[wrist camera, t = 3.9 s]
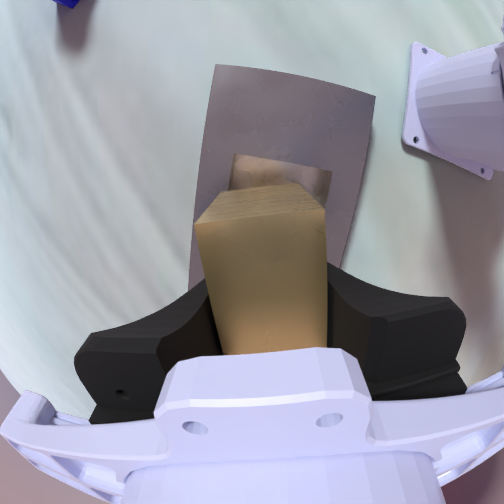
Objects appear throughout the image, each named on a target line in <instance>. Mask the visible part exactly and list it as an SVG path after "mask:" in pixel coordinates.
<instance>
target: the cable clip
mask: <svg viewBox="0 0 504 504" xmlns="http://www.w3.org/2000/svg"><path fill="white" fill-rule="evenodd" d="M52 1H54V2H56V3H59V4H62V5H64V6H67V7H69V8H72V9H73V8H74V7H75V5H76V4H77V3H78V2H79V1H80V0H52Z"/></svg>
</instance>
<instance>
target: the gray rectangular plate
mask: <svg viewBox="0 0 504 504" xmlns="http://www.w3.org/2000/svg"><path fill="white" fill-rule="evenodd" d="M375 98H376V96H373V95H370V94H367V93H364V92H361V91H358V90H355V89H351V88H348V87H344V86H341V85H337V84H333V83H329V82H325V81H321V80H317V79H313V78H308V77H304V76H299V75H294V74H289V73H283V72H277V71H271V70H265V69H257V68H250V67H241V66H231V65H219V64H216V65H215V70H214V75H213V81H212V86H211V92H210V97H209V103H208V109H207V116H206V122H205V129H204V135H203V142H202V149H201V157H200V165H199V173H198V181H197V190H196V199H195V208H194V219H193V229H192V241H191V254H190V268H189V284H188V291H189V290H191V289H192V288H193V287H194V286H196V285H197V284H198V283H199V282H200V281H202V280H203V279H204V278H205V275H204V271H203V266H202V261H201V257H200V252H199V247H198V242H197V237H196V232H195V227H194V224H195V223H196V221H197V220H198V219H199V218H200V217H201V215H202V214H203V213H204V212H205V210H206V209H207V208H208V207H209V206H210V204H211V203H212V202H213V201H214V200H215V198H216V197H217V196H218V195H219V194H220V193H221V192H224V191H231V190H239V189H246V188H254V187H263V186H272V185H281V184H290V183H299V184H300V185H301V186H302V187H303V188H304V189H305V190H306V191H307V192H308V193H309V194H310V195H311V196H312V197H313V198H314V199H315V200H316V201H317V202H318V203H319V204H320V205H321V206H322V207H323V208H324V209H325V225H326V248H327V262H329V263H331V264H332V265H334V266H336V267H337V268H339V266H340V263H341V259H342V256H343V252H344V249H345V245H346V241H347V238H348V234H349V230H350V226H351V222H352V218H353V214H354V210H355V206H356V201H357V197H358V193H359V188H360V184H361V179H362V174H363V169H364V164H365V159H366V154H367V149H368V143H369V137H370V131H371V125H372V119H373V112H374V105H375Z"/></svg>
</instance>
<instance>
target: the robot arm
mask: <svg viewBox="0 0 504 504" xmlns="http://www.w3.org/2000/svg"><path fill="white" fill-rule="evenodd" d="M501 30H502V32H503V33H504V16H503V25H502V26H501ZM422 49H423V50H424V52H425V54H424V53H423V52H422ZM414 137H416V140H417V141H416V143H414V141H413V138H414ZM402 140H403V142H404V143H405V144H406V145H409V146H412V147H414V148H417V149H419V150H422V151H425V152H427V153H429V154H432V155H434V156H437V157H439V158H441V159H444V160H446V161H448V162H451V163H453V164H455V165H457V166H459V167H461V168H464V169H466V170H468V171H470V172H472V173H474V174H476V175H478V176H480V177H482V178H484V179H486V180H489V181H490V180H491V179H492V177H493V172H494V170H497V171H501V172H504V42H500V43H496V44H492V45H488V46H485V47H481V48H478V49H474V50H471V51H468V52H464V53H461V54H458V55H455V56H452V57H449V58H447V57H445V56H443V55H441V54H440V53H438V52H436V51H434V50H432V49H430V48H428V47H426V46H424V45H422V44H420V43H418V42H414V43H412V44H411V50H410V68H409V81H408V92H407V101H406V109H405V117H404V124H403V131H402ZM481 169H482V170H481ZM465 329H466V318H465V315H464V313H463V311H462V310H461V309H460V308H459V307H458V306H457V305H456V304H455V303H454V302H453V301H452V300H451V299H450V298H449V297H426V296H417V295H409V294H403V293H399V292H394V291H390V290H386V289H383V288H380V287H377V286H374V285H371V284H369V283H366V282H364V281H362V280H360V279H358V278H355V277H353V276H352V275H350V274H348V273H346V272H344V271H342V270H341V269H339V268H337V267H336V266H334V265H332V264H331V263H329V262H327V348H321V347H313V348H305V349H297V350H288V351H278V352H268V353H256V354H242V355H225V356H224V355H223V351H222V347H221V343H220V339H219V335H218V331H217V327H216V323H215V319H214V315H213V311H212V306H211V302H210V298H209V293H208V289H207V285H206V280H205V278H204V279H203V280H202V281H200V282H199V283H198V284H197V285H196V286H194V287H193V288H192V289H191V290H189V291H188V292H187V293H185V294H184V295H183V296H181V297H180V298H179V299H177V300H176V301H174V302H173V303H171V304H170V305H168V306H166V307H164V308H163V309H161V310H159V311H157V312H155V313H153V314H151V315H149V316H146V317H144V318H142V319H140V320H137V321H134V322H132V323H129V324H126V325H123V326H120V327H116V328H112V329H108V330H103V331H99V332H94V333H91V334H90V335H89V337H88V338H87V339H86V341H85V342H84V344H83V345H82V346H81V348H80V349H79V351H78V352H77V353H76V355H75V357H74V366H75V370H76V373H77V375H78V376H79V378H80V380H81V382H82V383H83V385H84V386H85V388H86V389H87V391H88V392H89V394H90V395H91V397H92V398H93V400H94V401H95V402H96V404H97V405H96V407H95V409H94V411H93V413H92V415H91V417H90V419H89V420H87V419H83V418H79V417H75V416H72V415H68V414H65V413H61V412H58V411H56V410H55V408H54V407H53V405H52V404H51V403H50V401H49V400H48V399H47V398H45V397H44V396H42V395H40V394H37V393H34V392H30V391H28V390H25V391H24V392H23V394H22V395H21V397H20V398H19V400H18V401H17V403H16V404H15V406H14V407H13V408H12V410H11V411H10V413H9V414H8V416H7V417H6V419H5V421H4V422H3V424H2V425H1V427H0V434H1V435H2V436H3V437H4V438H5V439H6V440H7V441H8V442H9V443H10V444H11V445H12V446H13V447H14V448H15V449H16V450H17V451H18V452H19V453H20V454H21V455H22V456H23V457H24V458H25V459H26V460H28V461H29V462H30V463H31V464H33V466H35V467H36V468H37V469H39V470H40V471H42V472H44V473H46V474H48V475H50V476H52V477H54V478H56V479H58V480H60V481H62V482H64V483H66V484H68V485H70V486H72V487H74V488H76V489H78V490H80V491H82V492H85V493H87V494H89V495H91V496H94V497H96V498H98V499H101V500H103V501H106V502H108V503H111V504H446V503H445V500H444V497H443V494H442V490H441V486H443V485H445V484H447V483H449V482H450V481H452V480H454V479H456V478H458V477H459V476H461V475H463V474H464V473H466V472H468V471H469V470H471V469H472V468H474V467H476V466H477V465H479V464H480V463H482V462H483V461H485V460H486V459H488V458H489V457H491V456H492V455H493V454H495V453H496V452H498V451H499V450H500V449H502V448H503V447H504V366H503V368H502V371H500V372H498V373H496V374H494V375H492V376H490V377H488V378H486V379H484V380H482V381H480V382H478V383H476V384H473V385H471V386H469V387H467V386H466V385H465V383H464V382H463V380H462V379H461V377H460V375H459V374H458V372H459V370H460V365H459V364H458V362H457V361H456V356H457V354H458V351H459V349H460V346H461V343H462V340H463V337H464V334H465Z"/></svg>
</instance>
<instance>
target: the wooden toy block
mask: <svg viewBox="0 0 504 504" xmlns="http://www.w3.org/2000/svg"><path fill="white" fill-rule="evenodd" d="M194 227H195V232H196V237H197V242H198V247H199V252H200V257H201V261H202V266H203V271H204V275H205V280H206V285H207V289H208V293H209V298H210V302H211V306H212V311H213V315H214V319H215V323H216V327H217V331H218V335H219V339H220V343H221V347H222V351H223V355H224V356H225V355H242V354H256V353H268V352H278V351H288V350H297V349H305V348H313V347H321V348H327V248H326V225H325V209H324V208H323V207H322V206H321V205H320V204H319V203H318V202H317V201H316V200H315V199H314V198H313V197H312V196H311V195H310V194H309V193H308V192H307V191H306V190H305V189H304V188H303V187H302V186H301V185H300V184H299V183H290V184H281V185H272V186H263V187H254V188H246V189H239V190H231V191H224V192H221V193H220V194H219V195H218V196H217V197H216V198H215V200H214V201H213V202H212V203H211V204H210V206H209V207H208V208H207V209H206V210H205V212H204V213H203V214H202V215H201V217H200V218H199V219H198V220H197V221H196V223H195V224H194Z"/></svg>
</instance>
